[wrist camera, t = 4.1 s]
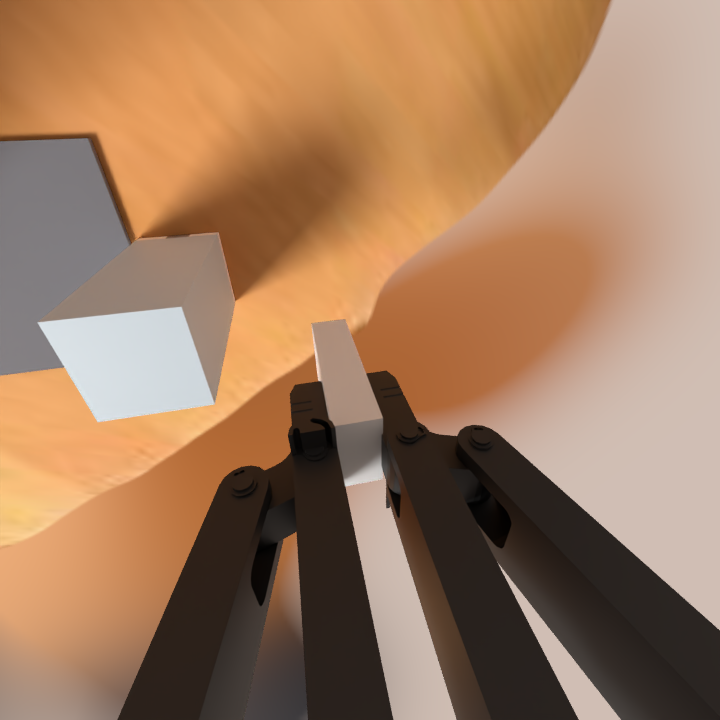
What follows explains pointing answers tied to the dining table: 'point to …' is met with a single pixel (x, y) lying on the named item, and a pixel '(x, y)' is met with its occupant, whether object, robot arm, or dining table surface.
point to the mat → (49, 239)
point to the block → (148, 328)
